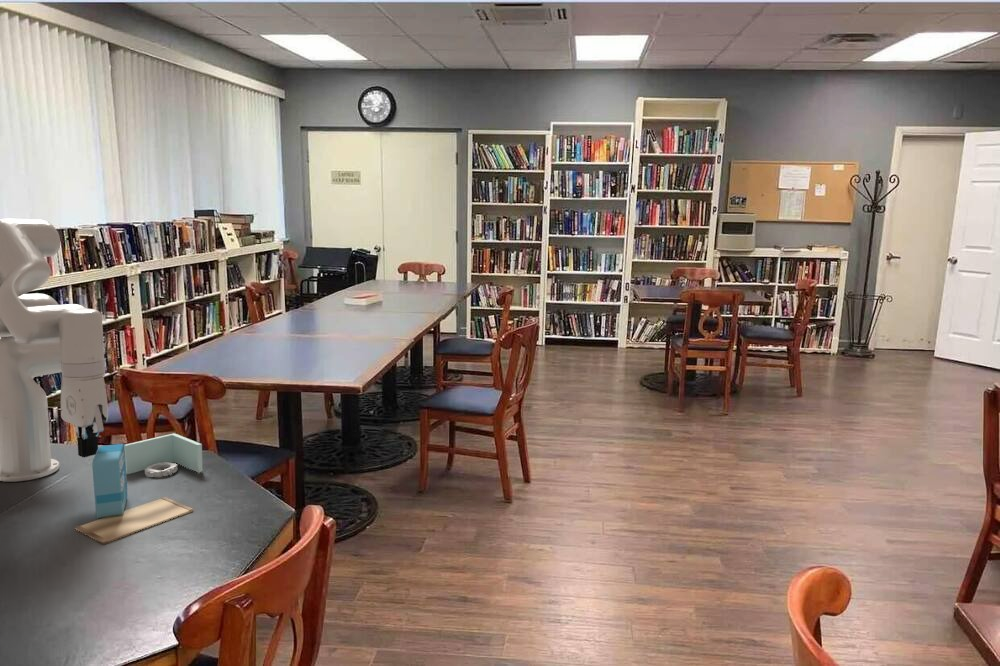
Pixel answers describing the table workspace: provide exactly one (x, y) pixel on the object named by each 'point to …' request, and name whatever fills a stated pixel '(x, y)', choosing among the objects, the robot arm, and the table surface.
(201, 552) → the table surface
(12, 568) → the table surface
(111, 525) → the wooden board
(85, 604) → the table surface
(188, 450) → the mint corner bracket
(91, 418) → the robot arm
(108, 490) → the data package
